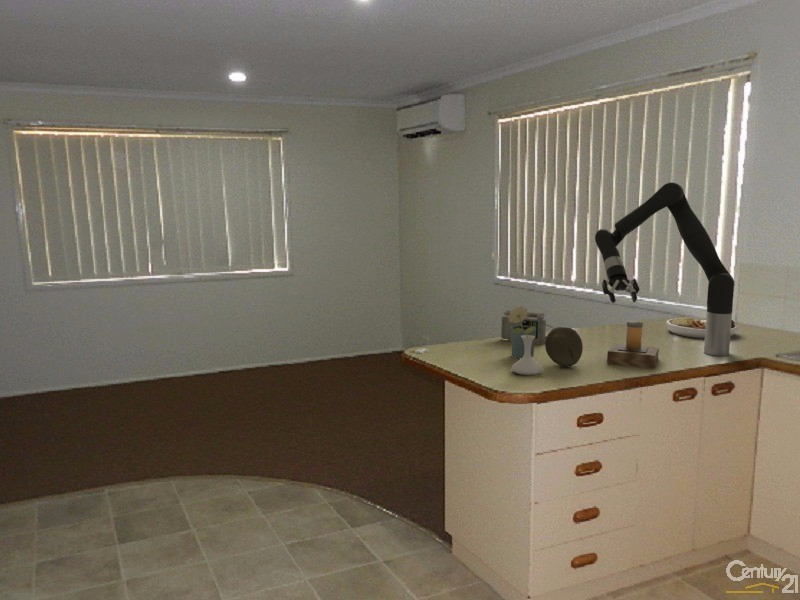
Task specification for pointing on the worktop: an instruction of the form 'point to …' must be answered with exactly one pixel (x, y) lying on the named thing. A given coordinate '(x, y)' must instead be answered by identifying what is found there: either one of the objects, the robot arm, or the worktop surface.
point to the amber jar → (634, 335)
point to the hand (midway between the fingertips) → (624, 301)
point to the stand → (633, 356)
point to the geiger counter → (536, 322)
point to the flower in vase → (526, 362)
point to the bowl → (692, 327)
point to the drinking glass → (521, 341)
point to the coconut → (564, 346)
